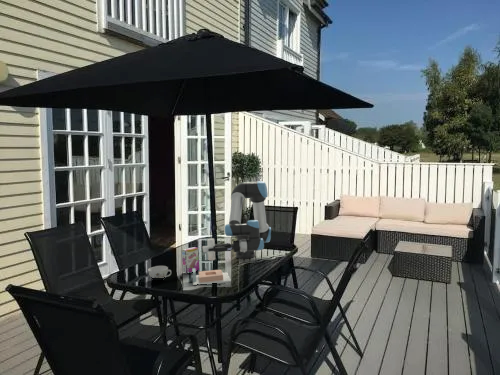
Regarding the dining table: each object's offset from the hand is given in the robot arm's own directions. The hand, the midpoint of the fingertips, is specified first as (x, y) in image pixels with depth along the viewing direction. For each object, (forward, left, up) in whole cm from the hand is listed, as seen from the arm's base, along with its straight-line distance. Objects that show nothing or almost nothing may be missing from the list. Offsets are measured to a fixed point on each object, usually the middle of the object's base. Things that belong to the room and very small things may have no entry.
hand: (202, 249), depth 267 cm
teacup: (-11, -28, -20) cm, 36 cm away
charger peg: (0, +5, -7) cm, 9 cm away
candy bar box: (-24, -8, -20) cm, 32 cm away
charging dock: (-1, +4, -20) cm, 20 cm away
